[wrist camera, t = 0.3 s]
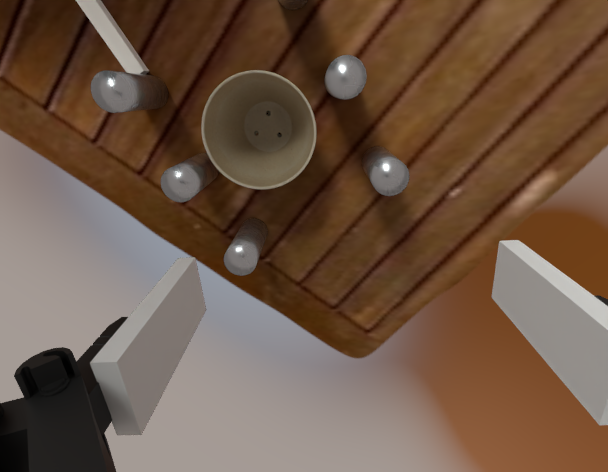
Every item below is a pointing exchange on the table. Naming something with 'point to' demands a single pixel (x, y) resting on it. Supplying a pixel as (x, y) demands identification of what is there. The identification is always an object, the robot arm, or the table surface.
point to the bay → (113, 36)
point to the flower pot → (258, 129)
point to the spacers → (201, 171)
